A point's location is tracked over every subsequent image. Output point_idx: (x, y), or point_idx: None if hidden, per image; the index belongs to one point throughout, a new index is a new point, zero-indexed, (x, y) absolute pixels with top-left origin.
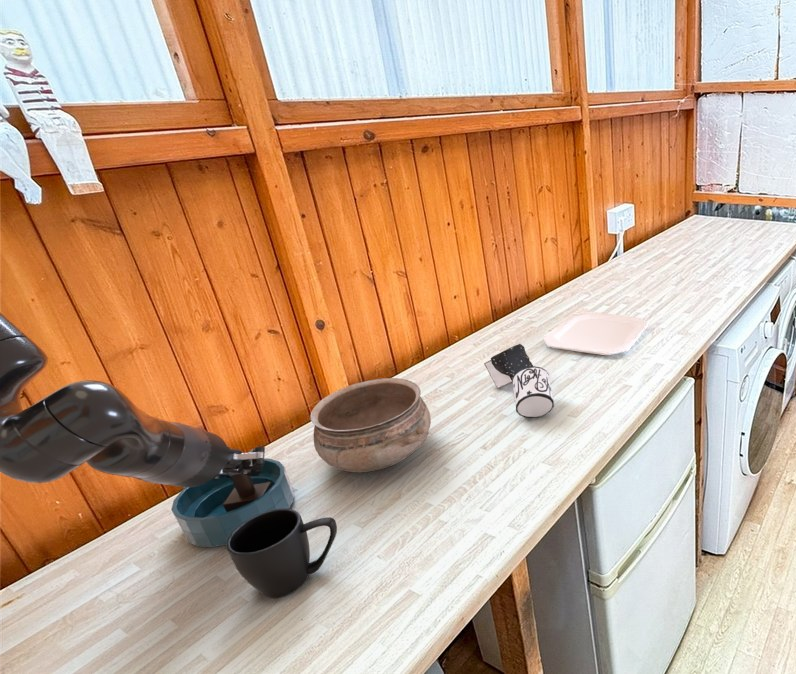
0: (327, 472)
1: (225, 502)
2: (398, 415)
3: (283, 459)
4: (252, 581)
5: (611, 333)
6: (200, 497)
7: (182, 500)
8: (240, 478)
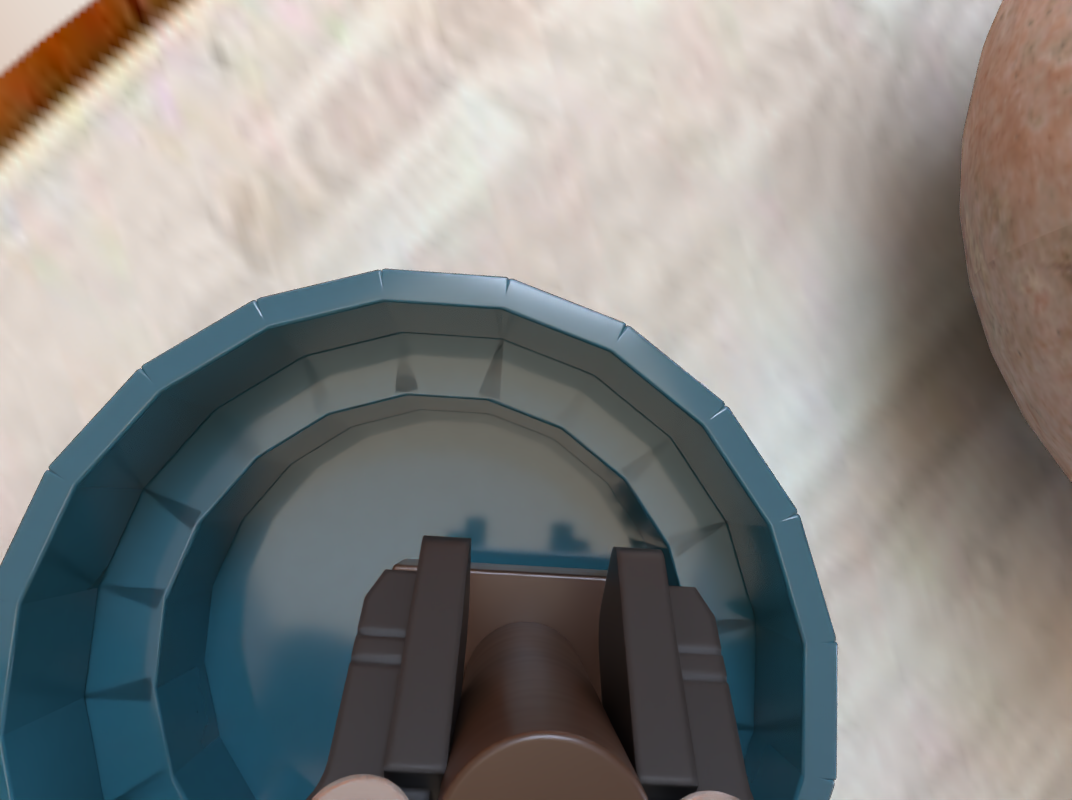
0: (854, 319)
1: None
2: None
3: (520, 58)
4: None
5: None
6: (141, 528)
7: (35, 683)
8: None
